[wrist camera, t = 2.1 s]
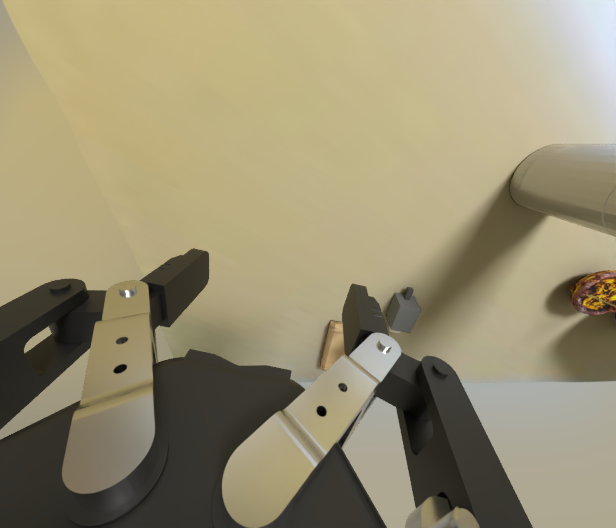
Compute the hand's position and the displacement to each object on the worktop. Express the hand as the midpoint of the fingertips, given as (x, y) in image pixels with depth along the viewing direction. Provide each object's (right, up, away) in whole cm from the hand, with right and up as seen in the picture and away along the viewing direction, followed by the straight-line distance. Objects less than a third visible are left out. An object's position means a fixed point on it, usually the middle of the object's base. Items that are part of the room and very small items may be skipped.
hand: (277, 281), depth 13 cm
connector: (+21, -8, +36) cm, 43 cm away
